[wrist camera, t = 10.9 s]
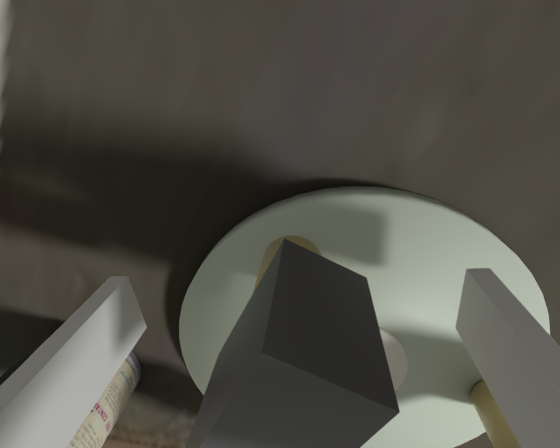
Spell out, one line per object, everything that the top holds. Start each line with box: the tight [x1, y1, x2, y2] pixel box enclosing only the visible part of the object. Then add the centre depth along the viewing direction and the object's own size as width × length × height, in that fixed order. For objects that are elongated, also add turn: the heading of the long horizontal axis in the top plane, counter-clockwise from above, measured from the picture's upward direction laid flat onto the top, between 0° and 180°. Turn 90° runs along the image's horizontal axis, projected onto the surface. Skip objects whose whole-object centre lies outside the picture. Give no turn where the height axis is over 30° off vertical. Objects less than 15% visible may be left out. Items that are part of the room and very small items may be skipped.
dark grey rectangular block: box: [186, 235, 400, 448], centre depth 11 cm, size 6×3×9 cm, turn 154°
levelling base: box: [179, 186, 550, 448], centre depth 18 cm, size 20×20×2 cm
